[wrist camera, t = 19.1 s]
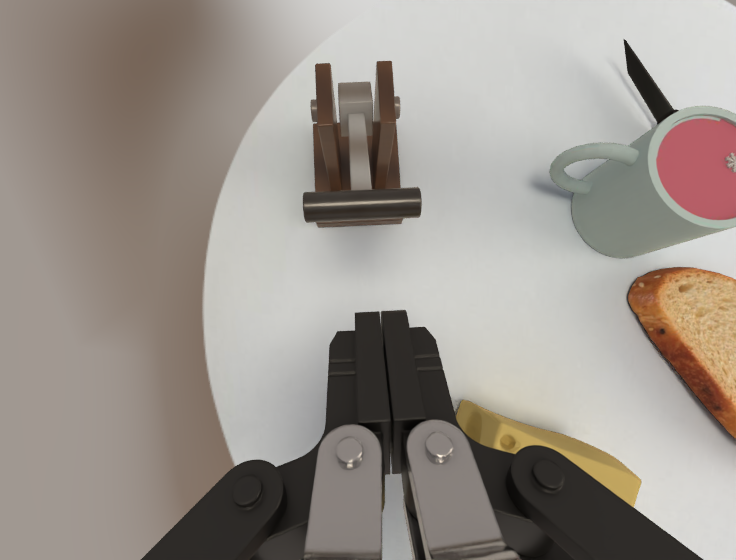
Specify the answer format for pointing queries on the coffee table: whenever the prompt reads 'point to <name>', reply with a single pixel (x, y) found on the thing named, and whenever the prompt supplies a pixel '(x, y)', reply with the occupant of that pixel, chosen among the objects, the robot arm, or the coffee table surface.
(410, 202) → the lever
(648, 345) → the coffee table surface
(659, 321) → the slice of bread
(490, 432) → the cheese
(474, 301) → the coffee table surface
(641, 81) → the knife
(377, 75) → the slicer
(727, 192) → the mug
